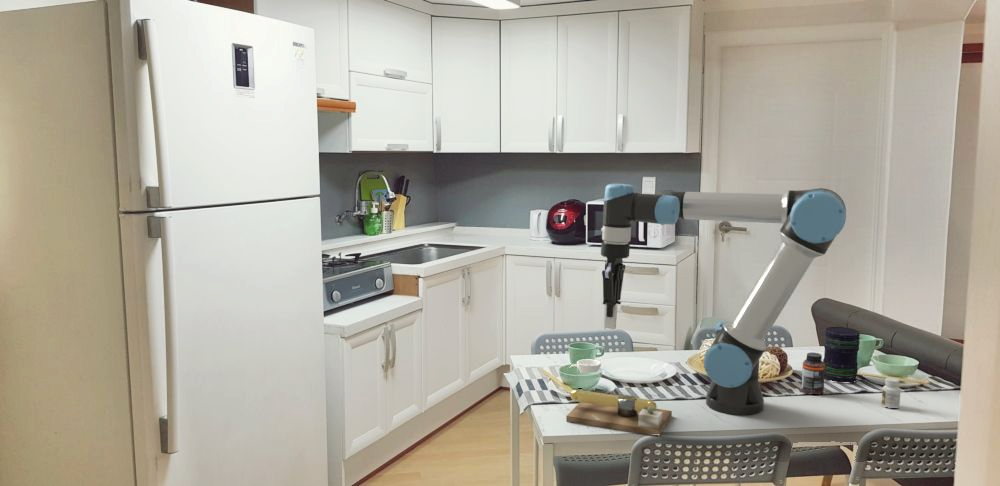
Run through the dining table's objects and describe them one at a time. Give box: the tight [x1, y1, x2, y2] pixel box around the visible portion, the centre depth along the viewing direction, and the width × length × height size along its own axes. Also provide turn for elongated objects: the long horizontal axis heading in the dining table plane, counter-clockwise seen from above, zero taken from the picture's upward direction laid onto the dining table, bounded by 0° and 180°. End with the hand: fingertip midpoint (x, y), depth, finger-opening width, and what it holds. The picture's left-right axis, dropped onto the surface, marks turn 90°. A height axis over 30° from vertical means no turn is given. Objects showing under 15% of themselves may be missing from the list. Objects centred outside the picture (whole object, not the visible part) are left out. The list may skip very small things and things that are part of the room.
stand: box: [565, 402, 673, 436], centre depth 201 cm, size 24×15×6 cm, turn 66°
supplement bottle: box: [801, 352, 825, 395], centre depth 223 cm, size 6×6×11 cm
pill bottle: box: [881, 377, 902, 409], centre depth 211 cm, size 4×4×8 cm
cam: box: [569, 389, 657, 417], centre depth 202 cm, size 23×5×4 cm, turn 66°
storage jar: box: [822, 326, 861, 382], centre depth 235 cm, size 10×10×15 cm
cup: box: [568, 358, 602, 391], centre depth 225 cm, size 7×10×8 cm
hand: (610, 327), depth 210 cm, fingers closed
